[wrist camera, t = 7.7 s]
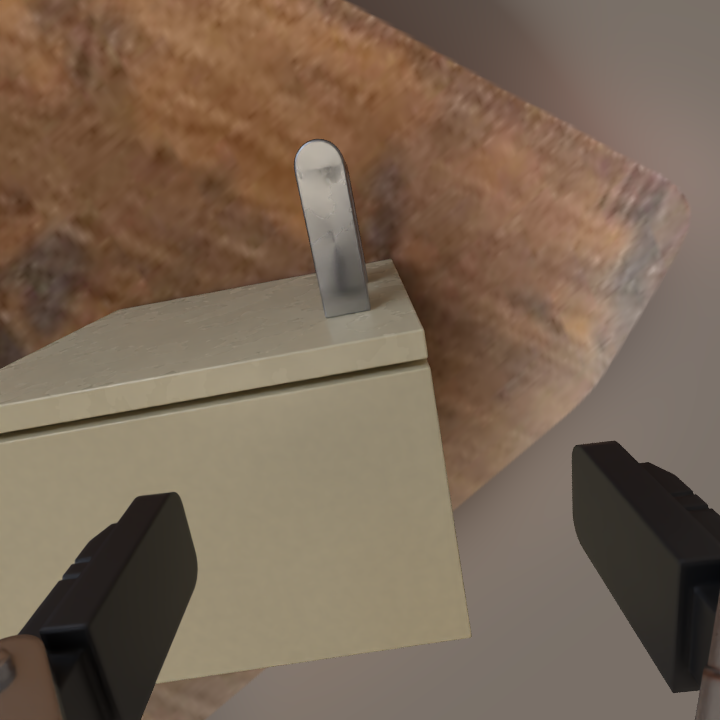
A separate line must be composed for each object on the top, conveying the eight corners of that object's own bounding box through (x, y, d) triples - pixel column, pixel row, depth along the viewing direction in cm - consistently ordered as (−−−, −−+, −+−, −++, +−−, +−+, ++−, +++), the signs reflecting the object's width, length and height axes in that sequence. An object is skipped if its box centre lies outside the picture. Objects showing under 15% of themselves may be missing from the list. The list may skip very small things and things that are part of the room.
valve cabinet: (124, 328, 35) (-101, 460, 18) (394, 277, 34) (430, 367, 17) (172, 474, 38) (21, 704, 21) (420, 432, 37) (472, 638, 20)
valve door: (83, 208, 33) (-212, 230, 16) (373, 151, 32) (390, 108, 15) (122, 324, 35) (-101, 451, 18) (394, 274, 34) (428, 358, 17)
